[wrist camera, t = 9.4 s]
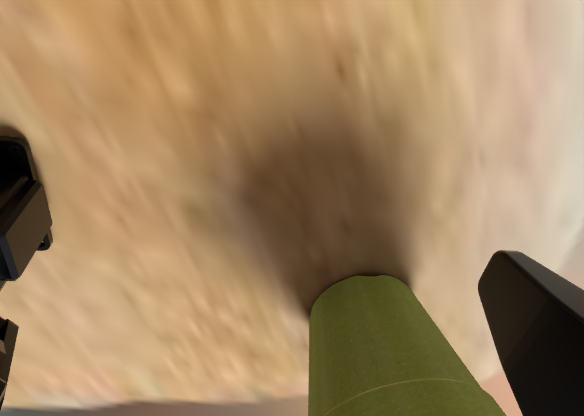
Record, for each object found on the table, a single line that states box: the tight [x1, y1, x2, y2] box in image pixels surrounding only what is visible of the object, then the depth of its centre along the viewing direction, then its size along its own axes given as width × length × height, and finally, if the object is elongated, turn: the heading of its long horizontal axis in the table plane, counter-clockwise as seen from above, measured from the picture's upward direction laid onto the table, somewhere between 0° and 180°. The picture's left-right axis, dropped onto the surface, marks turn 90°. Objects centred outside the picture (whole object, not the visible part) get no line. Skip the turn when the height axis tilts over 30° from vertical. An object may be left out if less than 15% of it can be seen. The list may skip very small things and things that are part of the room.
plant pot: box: [308, 275, 506, 416], centre depth 24 cm, size 12×12×11 cm
